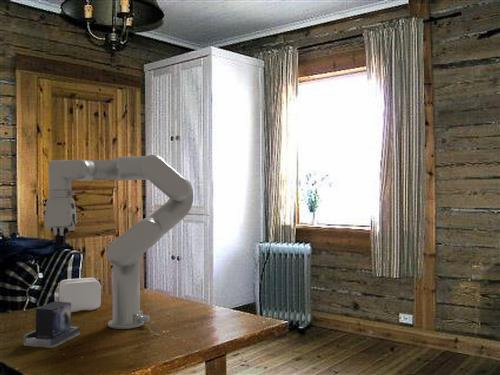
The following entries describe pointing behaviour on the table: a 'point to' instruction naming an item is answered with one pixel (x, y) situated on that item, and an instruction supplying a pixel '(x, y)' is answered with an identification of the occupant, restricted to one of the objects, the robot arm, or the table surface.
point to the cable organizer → (80, 293)
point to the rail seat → (50, 343)
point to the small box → (53, 319)
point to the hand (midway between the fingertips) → (60, 246)
